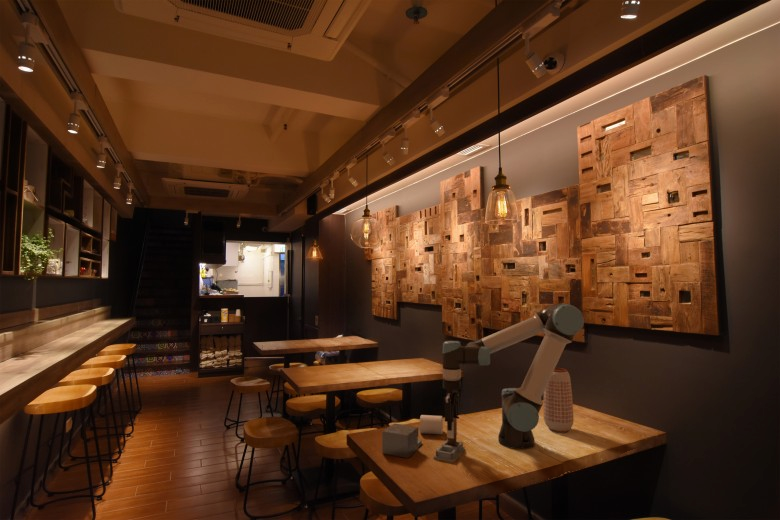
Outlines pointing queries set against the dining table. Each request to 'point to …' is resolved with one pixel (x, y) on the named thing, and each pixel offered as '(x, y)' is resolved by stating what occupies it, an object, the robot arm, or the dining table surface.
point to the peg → (453, 441)
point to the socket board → (449, 452)
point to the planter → (558, 401)
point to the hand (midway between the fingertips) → (451, 436)
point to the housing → (400, 440)
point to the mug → (431, 424)
